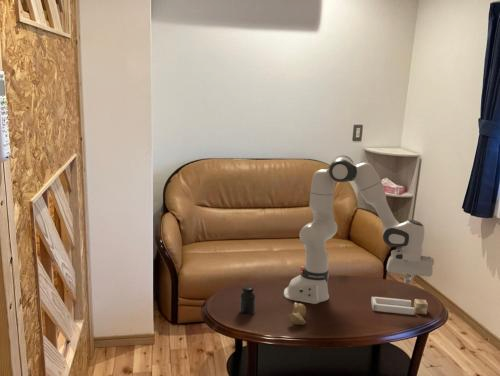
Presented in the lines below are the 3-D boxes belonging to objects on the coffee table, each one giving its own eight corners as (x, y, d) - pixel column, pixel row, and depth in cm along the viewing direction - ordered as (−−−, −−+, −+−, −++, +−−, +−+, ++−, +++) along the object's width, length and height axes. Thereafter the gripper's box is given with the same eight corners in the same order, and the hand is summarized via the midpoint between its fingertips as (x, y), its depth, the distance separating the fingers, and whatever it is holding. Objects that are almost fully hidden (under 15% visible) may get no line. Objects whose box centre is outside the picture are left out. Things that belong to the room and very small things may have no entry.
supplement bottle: (247, 307, 214) (248, 283, 212) (257, 312, 209) (258, 287, 207) (236, 311, 209) (237, 286, 207) (246, 316, 204) (248, 291, 202)
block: (415, 313, 215) (416, 303, 214) (413, 308, 220) (414, 298, 219) (426, 314, 214) (427, 304, 213) (424, 309, 219) (425, 299, 218)
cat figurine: (289, 313, 196) (294, 295, 206) (284, 324, 200) (289, 306, 210) (307, 320, 195) (311, 302, 206) (302, 331, 199) (306, 313, 209)
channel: (373, 310, 216) (373, 304, 215) (371, 302, 225) (371, 296, 224) (413, 314, 213) (414, 308, 212) (410, 306, 222) (410, 300, 221)
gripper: (433, 254, 214) (429, 282, 217) (388, 250, 217) (384, 277, 220) (436, 259, 208) (432, 287, 211) (389, 254, 211) (386, 282, 214)
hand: (407, 282), depth 216 cm, fingers closed
